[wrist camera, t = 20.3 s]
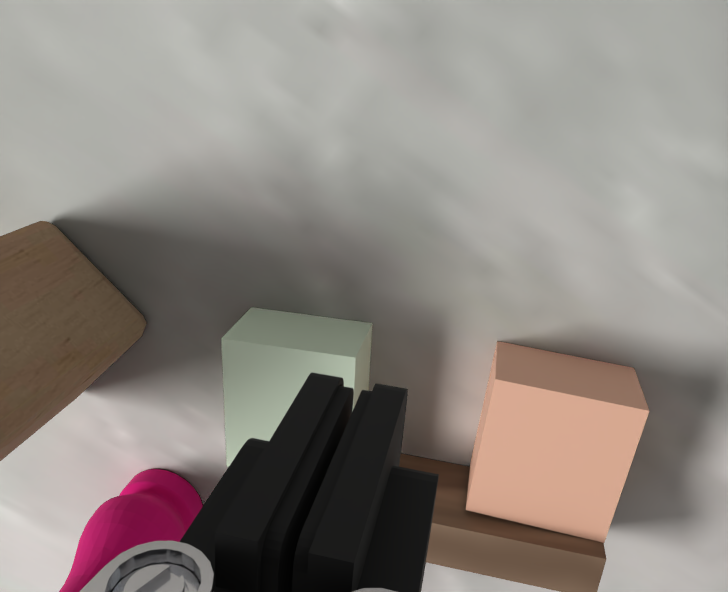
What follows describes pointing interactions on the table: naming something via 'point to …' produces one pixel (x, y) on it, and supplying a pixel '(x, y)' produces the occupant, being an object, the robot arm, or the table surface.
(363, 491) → the robot arm
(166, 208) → the table surface
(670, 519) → the table surface
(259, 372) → the sage block
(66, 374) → the wooden block
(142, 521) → the pepper mill
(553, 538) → the walnut board
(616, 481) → the terracotta block
